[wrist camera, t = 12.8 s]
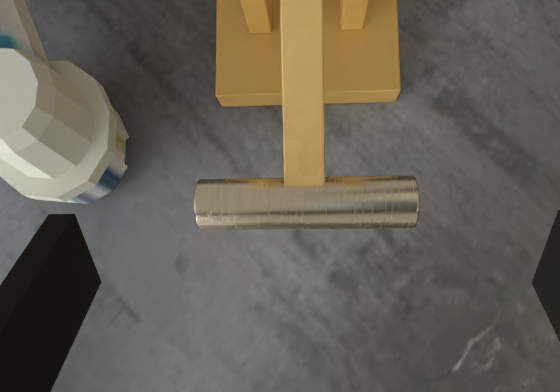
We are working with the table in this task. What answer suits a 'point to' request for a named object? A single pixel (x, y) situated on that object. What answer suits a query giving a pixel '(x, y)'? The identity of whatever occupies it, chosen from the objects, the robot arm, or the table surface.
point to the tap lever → (305, 158)
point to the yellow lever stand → (336, 48)
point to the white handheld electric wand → (53, 120)
